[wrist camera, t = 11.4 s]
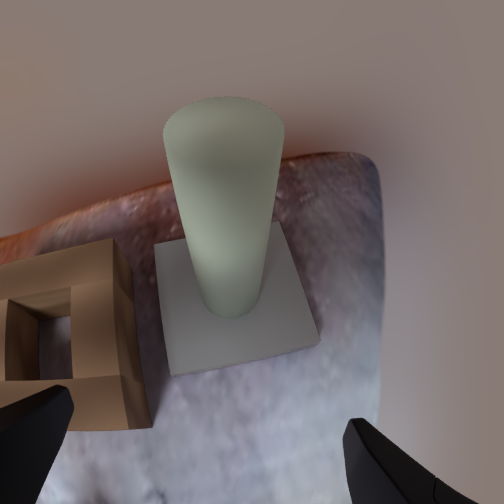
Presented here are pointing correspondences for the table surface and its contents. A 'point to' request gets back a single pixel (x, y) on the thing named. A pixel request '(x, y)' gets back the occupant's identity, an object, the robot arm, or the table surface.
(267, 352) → the slate tile
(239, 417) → the table surface
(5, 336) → the walnut pocket block
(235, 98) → the sage peg
